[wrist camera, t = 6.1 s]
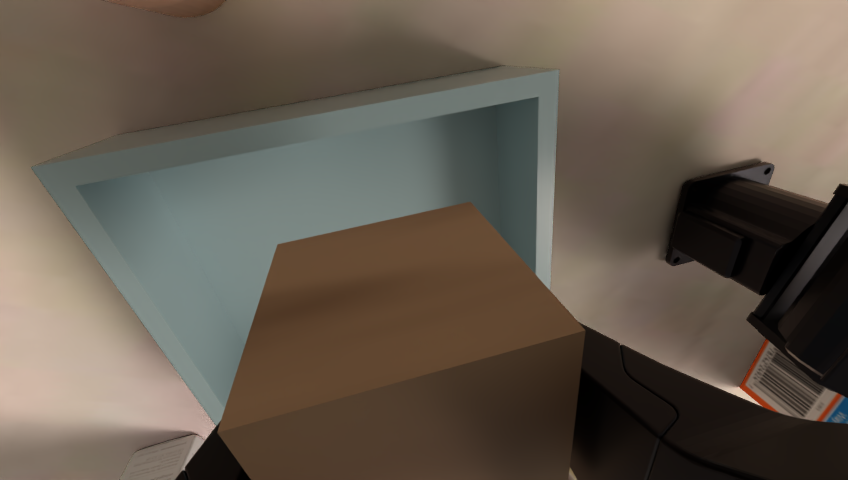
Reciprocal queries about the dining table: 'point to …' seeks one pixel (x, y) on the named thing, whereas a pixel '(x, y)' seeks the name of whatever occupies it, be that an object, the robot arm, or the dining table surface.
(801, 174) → the dining table surface
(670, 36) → the dining table surface
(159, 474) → the skincare box
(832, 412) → the pasta box
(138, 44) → the dining table surface
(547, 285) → the tote
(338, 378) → the walnut cube
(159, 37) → the dining table surface
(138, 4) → the terracotta cylinder
